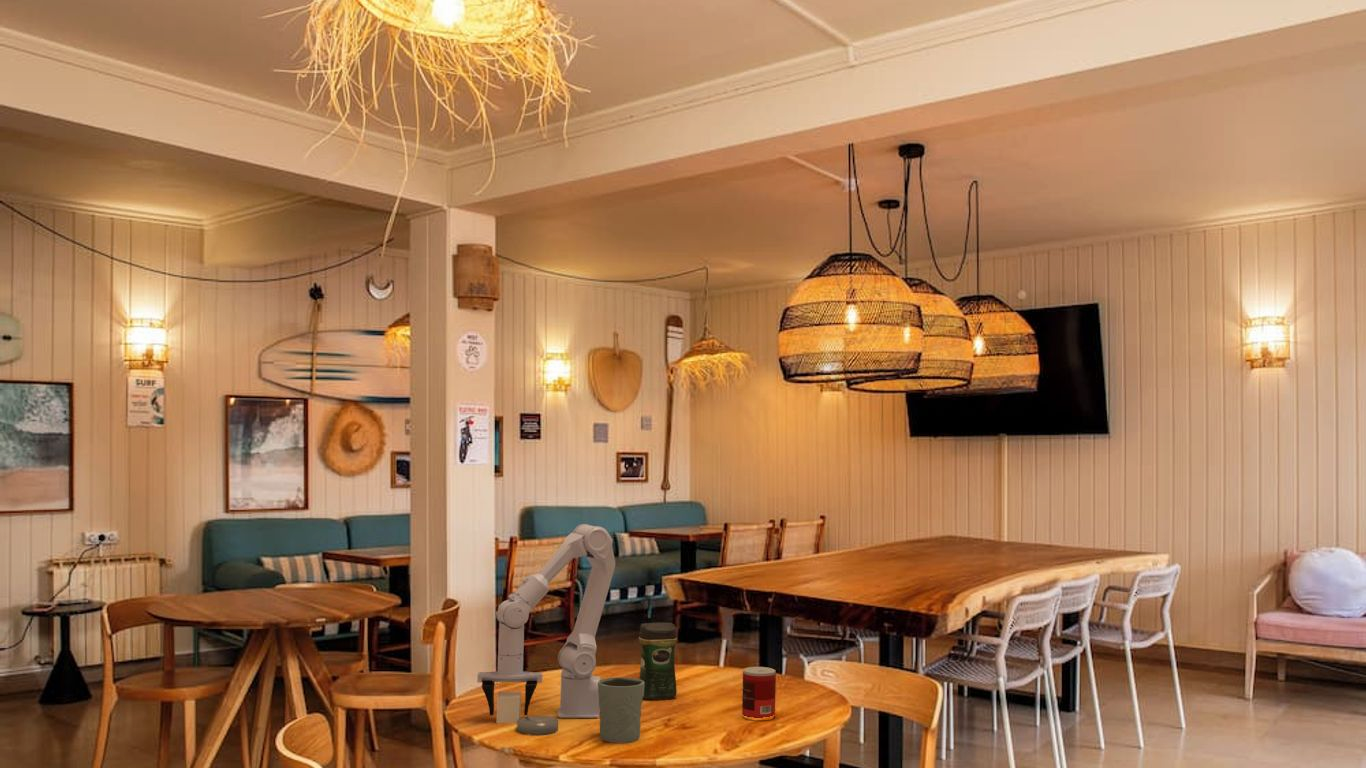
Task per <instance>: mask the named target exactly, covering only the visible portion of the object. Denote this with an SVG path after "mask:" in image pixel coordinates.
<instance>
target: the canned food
mask: <svg viewBox="0 0 1366 768" xmlns="http://www.w3.org/2000/svg"><path fill="white" fill-rule="evenodd" d="M776 672H777V671H776V669H774V668H771V667H765V666H749V667H744V668H743V669H742V703H741V704H742V706H741V707H742V708H741V709H742V710H741V711H742V712H741V713H742V716H743V715H744V716H747V717H754V718H763V717H770V716H773V715H776V693H777V692H776V691H777V690H776V689H777V688H776V685H777V675H776Z"/></svg>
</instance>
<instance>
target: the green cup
mask: <svg viewBox="0 0 1366 768" xmlns="http://www.w3.org/2000/svg"><path fill="white" fill-rule="evenodd" d="M643 690H644V681H643V680H640V679H639V678H636V677H635V678H634V677H626V676H625V677H623V676H620V677H619V676H618V677H606V678H605V677H604V678H602V679H601V678H600V680H599V681H598V693H599V706H600V708H599V738H600V740H602V741H604V742H606V743H612V744H630V743H634V742H637V741H638V740H639V739H640V735H641V723H642V722H641V717H642V704H643V699H644V698H643Z"/></svg>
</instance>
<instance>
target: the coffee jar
mask: <svg viewBox="0 0 1366 768" xmlns="http://www.w3.org/2000/svg"><path fill="white" fill-rule="evenodd" d="M677 635H678V634H677V627H676V625H675V624H674V623H672V622H645V623H641V624H640V627H639V636H638V641H639V644H640V649H641V650H640V651H641V652H640V653H641V654H640V656H641V658H640V668H639V675H638V677H639V678H638V679H640V680H643V681H644V690H643V699H646V700H650V699H661V700H667V699H668V698H669V699H674V698H675V697H676V696H677V679H676V678H677V677H676V668H675V667H676V666H675V647H676V644H677V641H678V636H677Z"/></svg>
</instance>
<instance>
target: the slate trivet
mask: <svg viewBox="0 0 1366 768" xmlns="http://www.w3.org/2000/svg"><path fill="white" fill-rule="evenodd" d="M558 730H559V719H558V717H557V718H556V717H554V716H549V715H526V716H523V717H521V718H520V719H518V720H517V724H516V732H518V733H519V732H520V733H519V734H521V733H523V734H522V735H526V734H530V735H529V736H546V735H547V736H548V735H552V734H555V733H557V732H558ZM556 731H557V732H556Z"/></svg>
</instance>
